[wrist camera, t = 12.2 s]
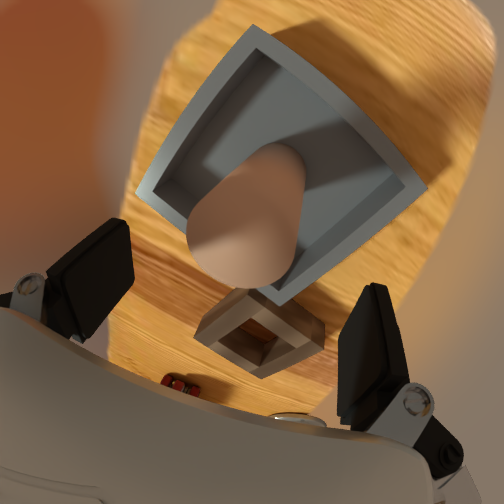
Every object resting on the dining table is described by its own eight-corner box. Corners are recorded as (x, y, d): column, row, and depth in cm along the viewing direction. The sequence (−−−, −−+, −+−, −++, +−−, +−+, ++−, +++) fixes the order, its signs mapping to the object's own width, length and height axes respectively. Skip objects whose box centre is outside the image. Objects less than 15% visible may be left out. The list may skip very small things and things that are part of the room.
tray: (409, 171, 18) (427, 188, 15) (284, 277, 26) (279, 306, 23) (264, 36, 15) (253, 23, 11) (159, 177, 23) (134, 193, 19)
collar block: (324, 324, 28) (324, 349, 25) (266, 357, 34) (261, 379, 31) (255, 270, 26) (247, 294, 23) (203, 316, 32) (193, 337, 29)
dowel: (311, 150, 18) (307, 204, 9) (299, 204, 21) (281, 299, 12) (252, 137, 19) (188, 179, 10) (244, 191, 21) (185, 273, 12)
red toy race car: (203, 381, 42) (184, 433, 33) (195, 403, 49) (179, 445, 40) (165, 365, 42) (141, 415, 33) (164, 391, 49) (145, 431, 40)
